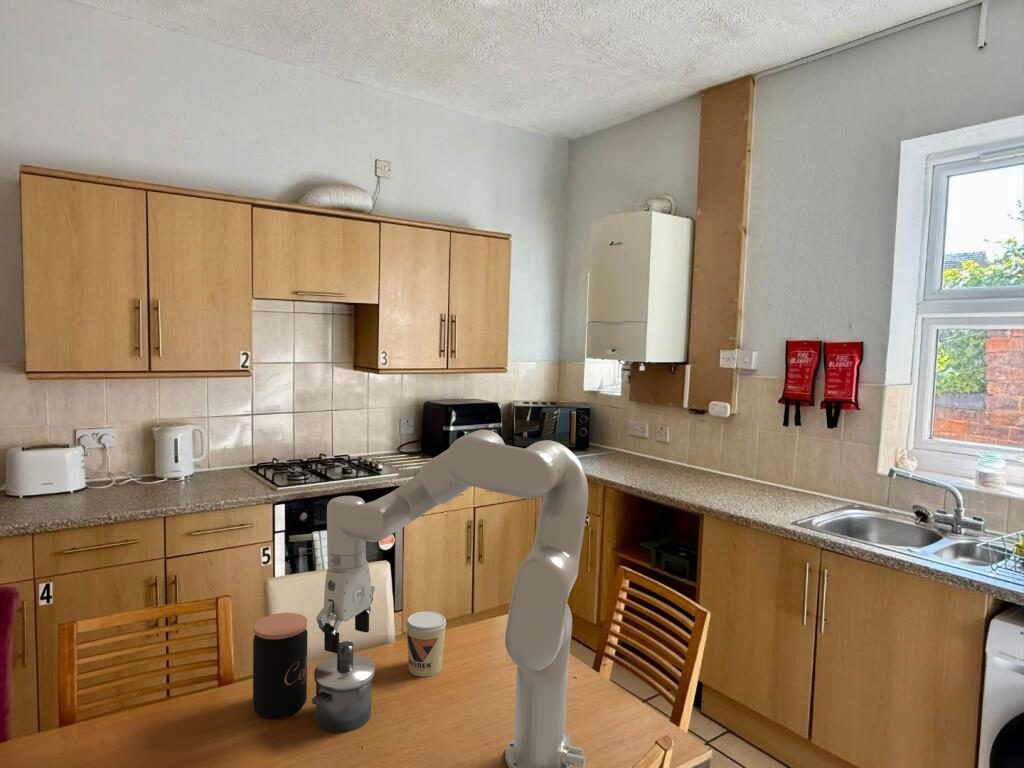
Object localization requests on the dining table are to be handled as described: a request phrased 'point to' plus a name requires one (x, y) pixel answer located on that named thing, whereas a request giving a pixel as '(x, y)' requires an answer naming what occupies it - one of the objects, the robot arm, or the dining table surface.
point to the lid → (344, 670)
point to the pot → (343, 708)
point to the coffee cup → (425, 642)
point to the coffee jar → (280, 665)
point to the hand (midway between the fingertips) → (347, 640)
